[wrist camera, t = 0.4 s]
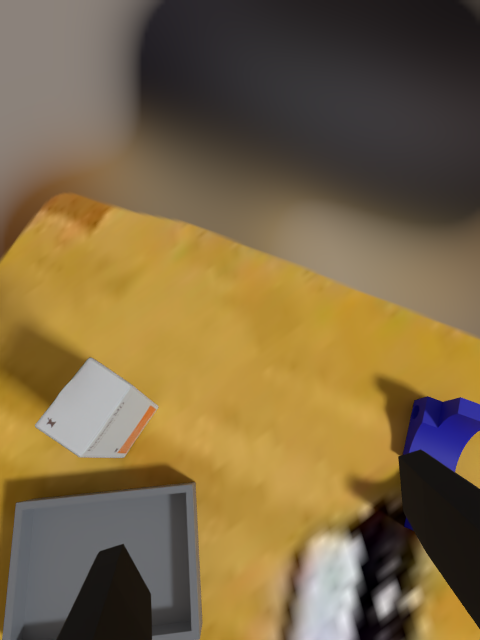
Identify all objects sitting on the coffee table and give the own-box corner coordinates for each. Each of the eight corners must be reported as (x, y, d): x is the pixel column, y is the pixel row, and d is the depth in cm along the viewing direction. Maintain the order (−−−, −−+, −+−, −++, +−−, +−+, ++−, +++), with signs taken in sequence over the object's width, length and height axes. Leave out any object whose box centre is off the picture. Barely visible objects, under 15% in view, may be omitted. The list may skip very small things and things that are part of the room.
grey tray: (202, 623, 32) (199, 639, 29) (20, 646, 31) (-1, 665, 28) (195, 482, 36) (192, 484, 33) (33, 499, 35) (16, 502, 32)
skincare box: (124, 459, 36) (78, 461, 25) (90, 435, 37) (30, 426, 26) (161, 405, 38) (133, 385, 27) (128, 383, 39) (87, 354, 28)
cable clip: (413, 400, 39) (444, 391, 34) (455, 416, 39) (493, 409, 33) (387, 519, 35) (417, 531, 30) (434, 538, 35) (473, 554, 29)
